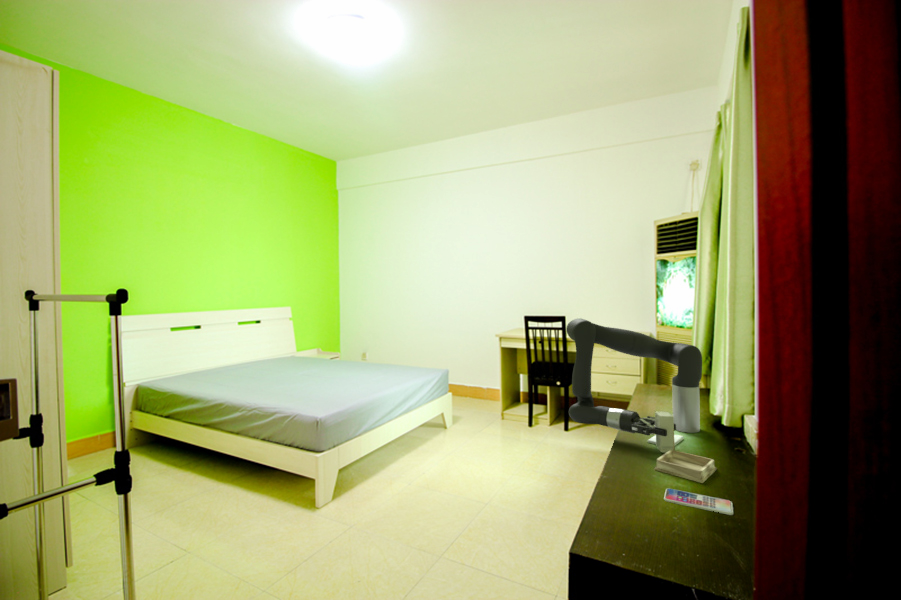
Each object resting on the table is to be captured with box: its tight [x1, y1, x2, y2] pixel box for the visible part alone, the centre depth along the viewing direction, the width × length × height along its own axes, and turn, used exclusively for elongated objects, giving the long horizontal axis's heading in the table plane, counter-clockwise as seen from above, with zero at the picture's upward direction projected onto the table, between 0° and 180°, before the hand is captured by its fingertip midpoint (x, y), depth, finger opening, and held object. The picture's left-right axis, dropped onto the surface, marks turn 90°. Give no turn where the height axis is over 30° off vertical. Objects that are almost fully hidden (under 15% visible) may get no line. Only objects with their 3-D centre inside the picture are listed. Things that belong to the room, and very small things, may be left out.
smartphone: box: [663, 488, 734, 516], centre depth 107 cm, size 7×1×15 cm
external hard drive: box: [646, 433, 685, 446], centre depth 152 cm, size 2×8×12 cm
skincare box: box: [654, 411, 676, 454], centre depth 142 cm, size 6×4×12 cm
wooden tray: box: [653, 449, 718, 484], centre depth 127 cm, size 13×13×3 cm
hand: (671, 430), depth 140 cm, fingers closed on skincare box, 7 cm apart
